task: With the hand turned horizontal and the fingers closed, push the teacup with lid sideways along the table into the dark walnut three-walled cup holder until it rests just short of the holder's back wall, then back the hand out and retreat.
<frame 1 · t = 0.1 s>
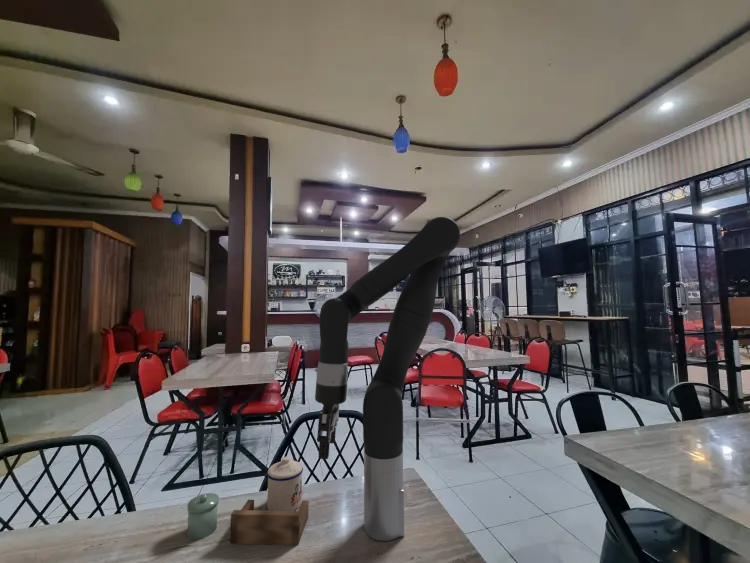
hand: (327, 450, 77), 17 cm above the table, tool pointing down, fingers open, 8 cm apart
green ceramic sugar pot: (202, 530, 74), on the table
walnut cup holder: (273, 525, 76), on the table
teacup with lid: (286, 502, 85), on the table
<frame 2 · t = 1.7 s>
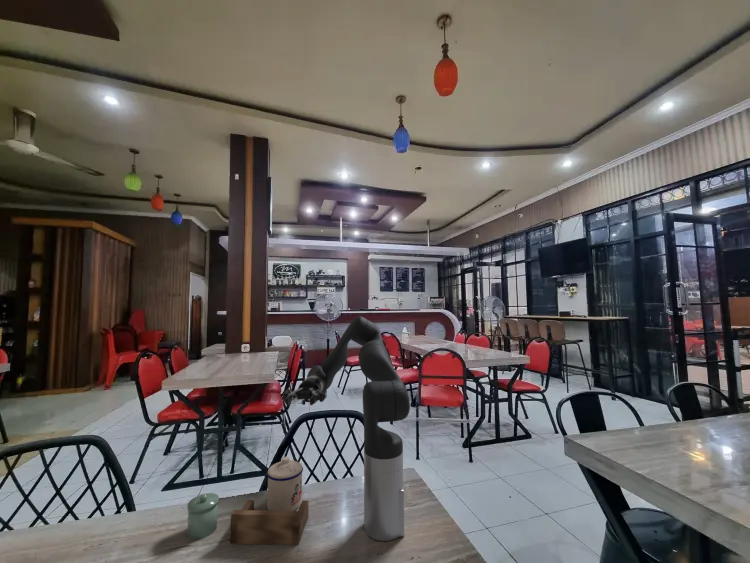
hand: (299, 402, 99), 22 cm above the table, tool horizontal, fingers open, 7 cm apart
nothing on the table moved.
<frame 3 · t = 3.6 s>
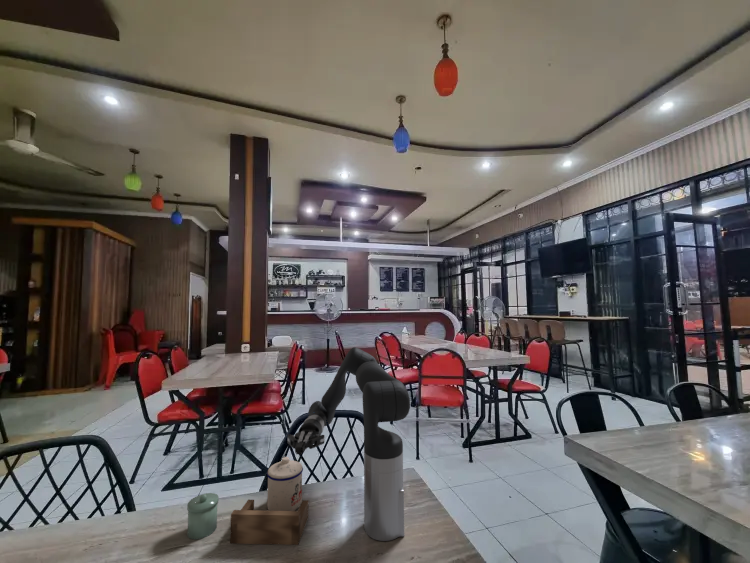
hand: (298, 451, 98), 8 cm above the table, tool horizontal, fingers closed
nothing on the table moved.
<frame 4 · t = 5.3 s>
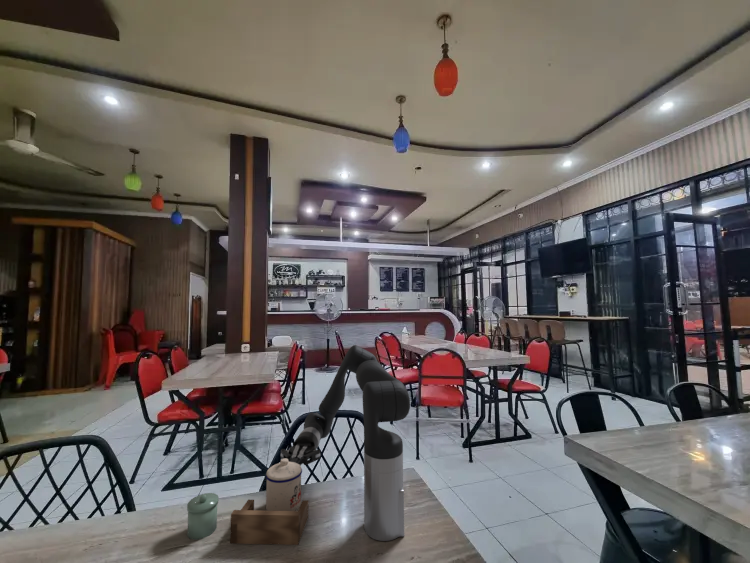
hand: (292, 468, 91), 6 cm above the table, tool horizontal, fingers closed
teacup with lid: (285, 504, 84), on the table, touching gripper
everything else where it was.
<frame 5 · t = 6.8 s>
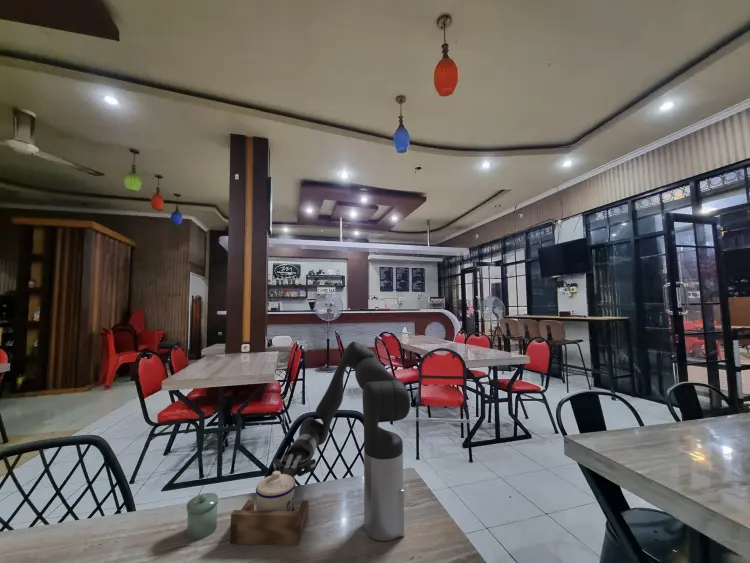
hand: (284, 480, 84), 6 cm above the table, tool horizontal, fingers closed
teacup with lid: (276, 520, 78), on the table, touching gripper
everything else where it was.
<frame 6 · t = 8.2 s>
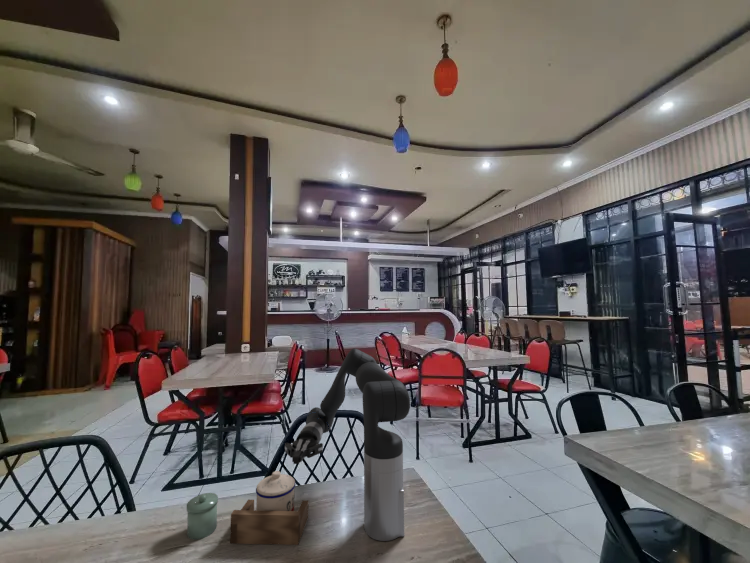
hand: (296, 460, 95), 6 cm above the table, tool horizontal, fingers closed
teacup with lid: (276, 520, 78), on the table
everything else where it was.
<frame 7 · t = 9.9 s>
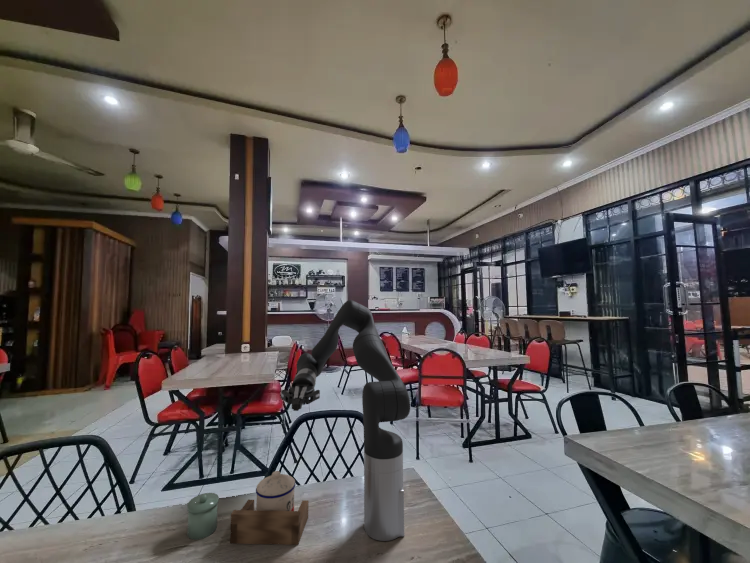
hand: (295, 407, 95), 22 cm above the table, tool horizontal, fingers closed
nothing on the table moved.
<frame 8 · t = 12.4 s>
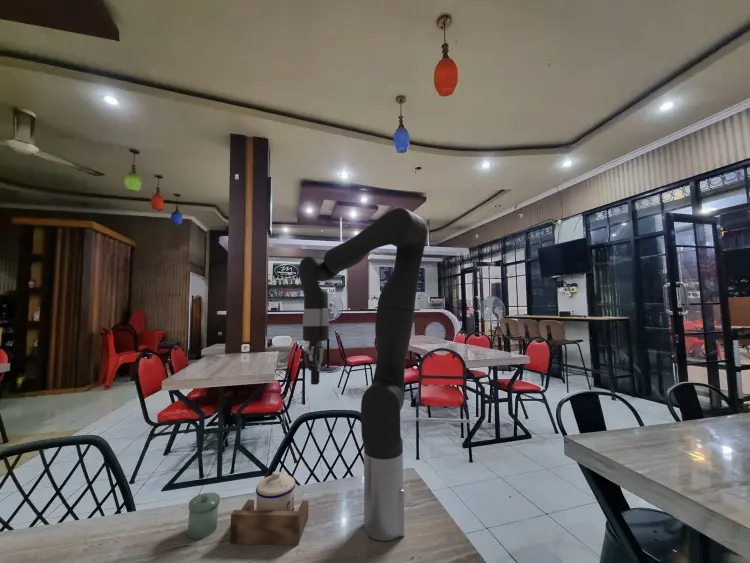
hand: (315, 383, 94), 29 cm above the table, tool pointing down, fingers closed
nothing on the table moved.
at the end: teacup with lid inside the target area (0.4 cm from its centre), on the table; teacup with lid tilted 0° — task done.
